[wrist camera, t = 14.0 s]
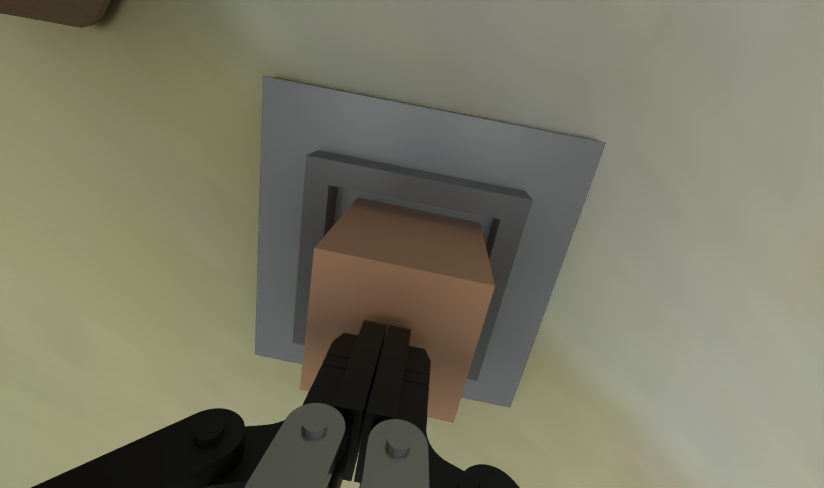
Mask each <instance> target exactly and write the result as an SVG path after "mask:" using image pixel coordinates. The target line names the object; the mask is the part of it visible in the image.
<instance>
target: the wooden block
mask: <svg viewBox="0 0 824 488" xmlns="http://www.w3.org/2000/svg"><path fill="white" fill-rule="evenodd" d="M110 2H111V0H0V13H3V14H8V15H14V16H19V17H25V18H31V19H36V20H42V21H47V22H53V23H58V24H64V25H70V26H75V27H81V28H82V27H86V26H90V25H93V24H94V23H95V22H97V21H98V20H99V19H100V18H102V17H103V16H104V14H105V12H106V10H107V8H108V6H109V4H110Z"/></svg>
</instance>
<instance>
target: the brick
mask: <svg viewBox="0 0 824 488" xmlns="http://www.w3.org/2000/svg"><path fill="white" fill-rule="evenodd" d="M494 288H495V283H494V279H493V275H492V271H491V266H490V262H489V258H488V254H487V250H486V245H485V241H484V237H483V233H482V229H481V224H480V223H479V222H474V221H469V220H464V219H460V218H455V217H450V216H445V215H440V214H436V213H431V212H426V211H421V210H416V209H412V208H407V207H402V206H397V205H392V204H388V203H383V202H378V201H373V200H368V199H363V198H359V197H358V198H357V200H356V201H355V202H354V203H353V204H352V205H351V206H350V208H349V209H348V210H347V211H346V212H345V213H344V214H343V215H342V217H341V218H340V219H339V220H338V221H337V222H336V223H335V225H334V226H333V227H332V228H331V229H330V230H329V231H328V233H327V234H326V235H325V236H324V237H323V238H322V239H321V241H320V242H319V243H318V244H317V245H316V246H315V247H314V254H313V264H312V274H311V285H310V295H309V305H308V315H307V325H306V335H305V345H304V355H303V365H302V376H301V386H300V389H301V390H306V391H309V390H310V388H311V386H312V384H313V382H314V380H315V378H316V376H317V373H318V371H319V369H320V367H321V366H322V363H323V361H324V359H325V356H326V355H327V352H328V350H329V348H330V346H331V344H332V342H333V341H334V340H335V339H336V338H338V337H339V336H340V335H341V334H343V333H349V334H354V335H359V332H360V330H361V327H362V324H363V322H364V320H368V321H373V322H378V323H382V324H387V329H386V334H387V330H388V326H389V325H393V326H398V327H403V328H408V329H411V335H410V341H409V346H413V347H418V348H423V349H425V350H426V352H427V354H428V356H429V358H430V361H431V367H430V382H429V396H428V411H427V417H430V418H435V419H440V420H444V421H449V422H454V419H455V415H456V412H457V409H458V406H459V402H460V399H461V396H462V393H463V389H464V386H465V383H466V380H467V376H468V373H469V370H470V366H471V363H472V360H473V357H474V353H475V350H476V347H477V344H478V340H479V337H480V334H481V331H482V327H483V324H484V321H485V317H486V314H487V311H488V308H489V304H490V301H491V298H492V295H493V291H494ZM386 334H385V337H386ZM384 341H385V340H384Z"/></svg>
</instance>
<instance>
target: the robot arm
mask: <svg viewBox="0 0 824 488" xmlns="http://www.w3.org/2000/svg"><path fill="white" fill-rule="evenodd" d="M386 329H387V324H382V323H378V322H373V321H368V320H364V322H363V324H362V327H361V330H360V332H359V335H354V334H349V333H343V334H341V335H340V336H339V337H338V338H336V339H335V340H334V341H333V342H332V344H331V346H330V348H329V350H328V352H327V355H326V356H325V359H324V361H323V363H322V366H321V367H320V369H319V371H318V373H317V376H316V378H315V380H314V382H313V384H312V386H311V388H310V390H309V393H308V395H307V397H306V399H305V401H304V403H303V405H302V406H300V407H298V408H296V409H295V410H293V411H292V412H291V413H290V414H289V415H288V416H287V418H286V419H285V420H284V421H281V422H279V423H275V424H269V425H259V426H246V427H245V425H244V421H243V419H242V418H241V417H240V416H239V415H238V414H237V413H235V412H233V411H231V410H228V409H221V408H219V409H208V410H205V411H201V412H199V413H196V414H194V415H192V416H190V417H187V418H185V419H183V420H181V421H178V422H176V423H174V424H172V425H170V426H167V427H165V428H163V429H161V430H158V431H156V432H154V433H152V434H149V435H147V436H145V437H143V438H141V439H138V440H136V441H134V442H132V443H129V444H127V445H125V446H123V447H121V448H118V449H116V450H114V451H112V452H109V453H107V454H105V455H103V456H100V457H98V458H96V459H94V460H92V461H89V462H87V463H85V464H83V465H80V466H78V467H76V468H74V469H72V470H69V471H67V472H65V473H63V474H60V475H58V476H56V477H54V478H52V479H49V480H47V481H45V482H43V483H40V484H38V485H36V486H34V487H31V488H340V487H341V483H342V480H348V481H351V480H352V476H353V473H354V469H355V465H356V461H357V457H358V461H357V467H356V473H355V479H354V482H358V483H360V487H359V488H519V486H518V485H517V484H516V483H515V482H514V481H513V480H512V479H511V477H510V476H508V475H507V474H506V473H505V472H503V471H501V470H500V469H498V468H496V467H493V466H490V465H484V464H479V465H474V466H471V467H469V468H468V469H466V470H465V471H463V470H461V469H459V468H457V467H456V466H454V465H452V464H450V463H448V462H447V461H445V460H444V459H442V458H441V457H440V456H439V455H438V454H437V453H436V452H435V451H434V449H433V448H432V447H431V445H430V443H429V441H428V438H427V433H426V425H427V411H428V396H429V382H430V367H431V361H430V358H429V356H428V354H427V352H426V350H425V349H423V348H418V347H413V346H409V341H410V335H411V329H408V328H403V327H398V326H393V325H389V326H388V330H387V334H386ZM385 334H386V337H385ZM384 340H385V341H384ZM359 449H360V450H359ZM358 453H359V455H358Z"/></svg>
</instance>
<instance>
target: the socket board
mask: <svg viewBox="0 0 824 488" xmlns="http://www.w3.org/2000/svg"><path fill="white" fill-rule="evenodd" d="M605 144H606V143H605V142H601V141H598V140H594V139H589V138H584V137H579V136H573V135H568V134H563V133H558V132H553V131H548V130H543V129H537V128H532V127H527V126H522V125H517V124H512V123H507V122H501V121H496V120H491V119H486V118H481V117H476V116H470V115H465V114H460V113H455V112H450V111H445V110H440V109H434V108H429V107H424V106H419V105H414V104H409V103H404V102H398V101H393V100H388V99H383V98H378V97H373V96H367V95H362V94H357V93H352V92H347V91H342V90H337V89H331V88H326V87H321V86H316V85H311V84H306V83H301V82H295V81H290V80H285V79H280V78H275V77H265V76H263V98H262V133H261V167H260V201H259V236H258V270H257V305H256V339H255V355H260V356H265V357H270V358H275V359H279V360H284V361H289V362H294V363H299V364H303V355H304V345H305V335H306V325H307V315H308V305H309V295H310V285H311V274H312V264H313V254H314V247H315V246H316V245H317V244H318V243H319V242H320V241H321V239H322V238H323V237H324V236H325V235H326V234H327V233H328V231H329V230H330V229H331V228H332V227H333V226H334V225H335V223H336V222H337V221H338V220H339V219H340V218H341V217H342V215H343V214H344V213H345V212H346V211H347V210H348V209H349V208H350V206H351V205H352V204H353V203H354V202H355V201H356V200H357V198H358V197H359V198H363V199H368V200H373V201H378V202H383V203H388V204H392V205H397V206H402V207H407V208H412V209H416V210H421V211H426V212H431V213H436V214H440V215H445V216H450V217H455V218H460V219H464V220H469V221H474V222H479V223H480V224H481V229H482V233H483V237H484V241H485V245H486V250H487V254H488V258H489V262H490V266H491V271H492V275H493V279H494V283H495V288H494V291H493V295H492V298H491V301H490V304H489V308H488V311H487V314H486V317H485V321H484V324H483V327H482V331H481V334H480V337H479V340H478V344H477V347H476V350H475V353H474V357H473V360H472V363H471V366H470V370H469V373H468V376H467V380H466V383H465V386H464V389H463V393H462V396H461V397H462V398H467V399H472V400H477V401H481V402H486V403H491V404H496V405H501V406H505V407H511V404H512V401H513V398H514V395H515V393H516V390H517V387H518V384H519V382H520V379H521V376H522V373H523V371H524V368H525V365H526V362H527V359H528V357H529V354H530V351H531V348H532V346H533V343H534V340H535V337H536V335H537V332H538V329H539V326H540V323H541V321H542V318H543V315H544V312H545V310H546V307H547V304H548V301H549V299H550V296H551V293H552V290H553V287H554V285H555V282H556V279H557V276H558V274H559V271H560V268H561V265H562V263H563V260H564V257H565V254H566V251H567V249H568V246H569V243H570V240H571V238H572V235H573V232H574V229H575V227H576V224H577V221H578V218H579V215H580V213H581V210H582V207H583V204H584V202H585V199H586V196H587V193H588V191H589V188H590V185H591V182H592V180H593V177H594V174H595V171H596V168H597V166H598V163H599V160H600V157H601V155H602V152H603V149H604V146H605Z"/></svg>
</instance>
